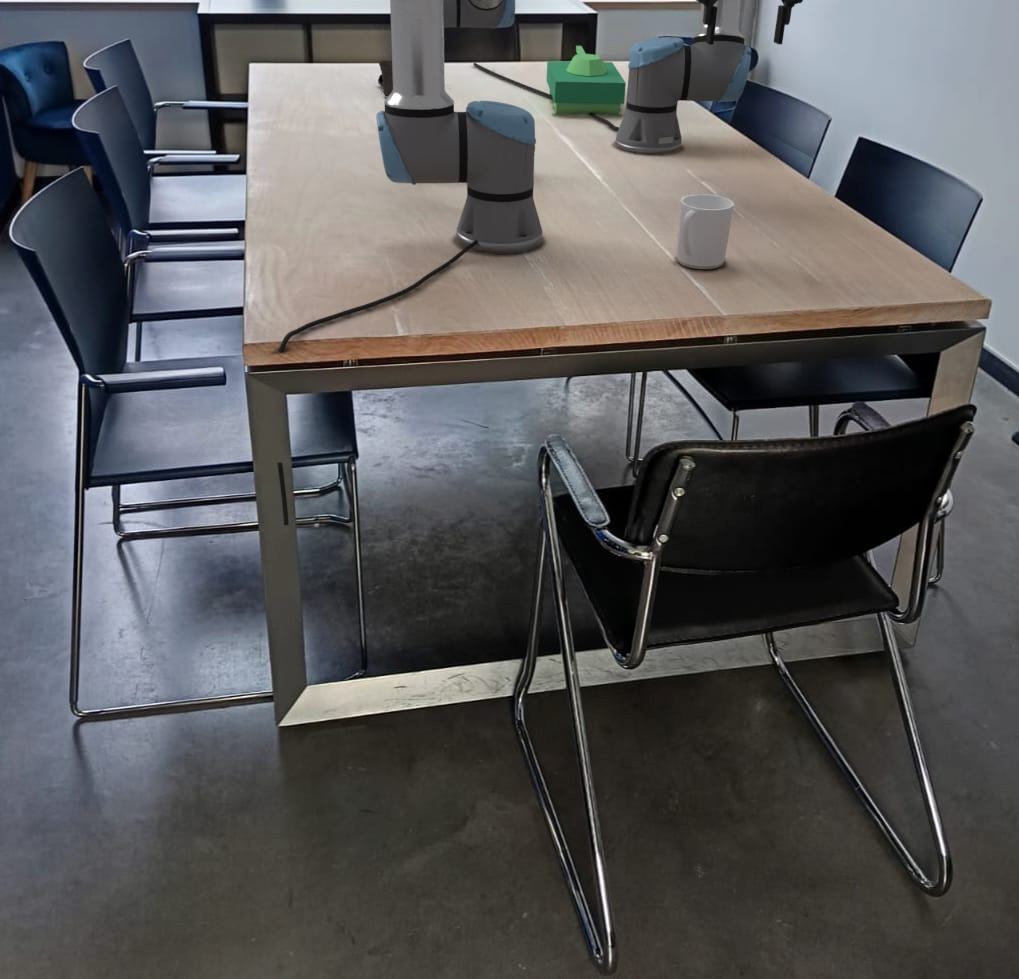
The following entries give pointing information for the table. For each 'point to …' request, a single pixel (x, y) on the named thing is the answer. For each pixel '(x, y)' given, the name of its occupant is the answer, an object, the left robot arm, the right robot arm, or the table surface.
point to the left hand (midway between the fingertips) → (418, 166)
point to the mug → (703, 230)
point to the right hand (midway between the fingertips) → (743, 43)
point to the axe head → (386, 77)
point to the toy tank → (585, 85)
